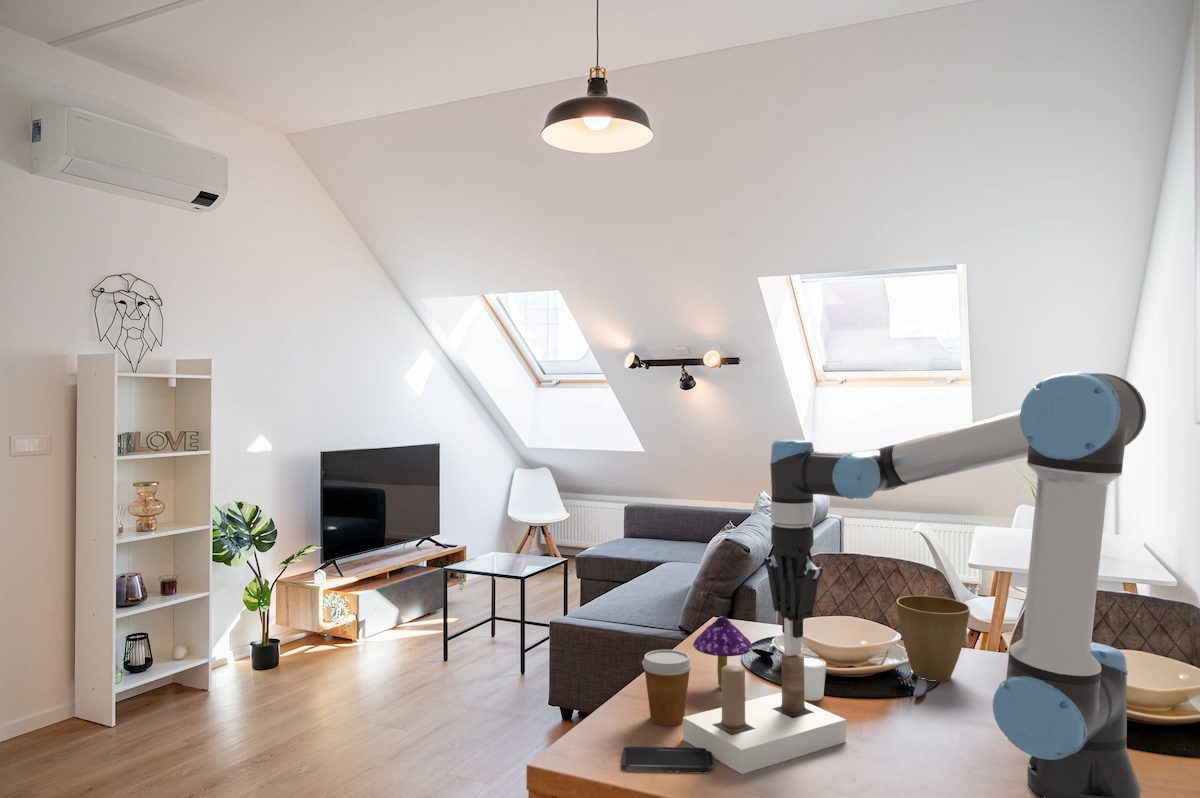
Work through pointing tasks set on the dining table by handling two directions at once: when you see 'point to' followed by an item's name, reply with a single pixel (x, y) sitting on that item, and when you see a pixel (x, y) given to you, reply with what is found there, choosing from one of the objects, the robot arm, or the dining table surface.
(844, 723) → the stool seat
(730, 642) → the decorative mushroom
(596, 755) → the dining table surface
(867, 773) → the dining table surface
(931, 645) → the plant pot
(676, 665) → the disposable coffee cup
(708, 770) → the phone
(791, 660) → the walnut leg
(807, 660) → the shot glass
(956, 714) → the dining table surface
